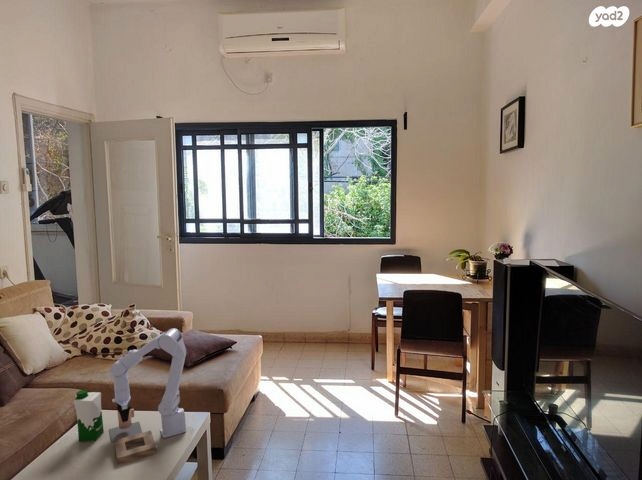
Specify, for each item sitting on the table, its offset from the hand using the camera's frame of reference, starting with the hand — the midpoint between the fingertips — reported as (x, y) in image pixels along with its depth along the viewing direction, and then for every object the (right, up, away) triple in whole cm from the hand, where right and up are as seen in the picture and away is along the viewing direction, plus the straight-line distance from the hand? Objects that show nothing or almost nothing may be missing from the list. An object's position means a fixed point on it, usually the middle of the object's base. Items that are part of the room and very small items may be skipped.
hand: (124, 418), depth 192 cm
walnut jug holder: (+10, -8, -12) cm, 17 cm away
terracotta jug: (0, -3, 0) cm, 4 cm away
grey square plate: (0, -6, +1) cm, 6 cm away
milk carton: (-13, -7, -2) cm, 15 cm away
